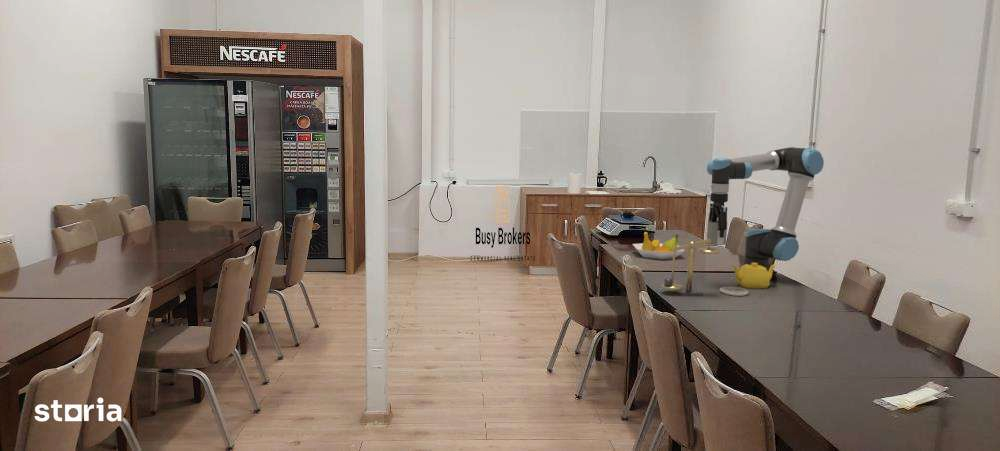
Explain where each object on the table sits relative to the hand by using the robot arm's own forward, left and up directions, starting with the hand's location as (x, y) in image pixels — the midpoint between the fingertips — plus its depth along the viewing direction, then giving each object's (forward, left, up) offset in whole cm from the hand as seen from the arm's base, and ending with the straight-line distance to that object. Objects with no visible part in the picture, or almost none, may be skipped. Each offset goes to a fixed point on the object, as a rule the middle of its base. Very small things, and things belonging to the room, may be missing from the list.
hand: (716, 242), depth 320 cm
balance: (+16, +13, -20) cm, 29 cm away
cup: (0, 0, -1) cm, 1 cm away
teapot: (-20, -3, -21) cm, 29 cm away
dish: (-5, +12, -20) cm, 24 cm away
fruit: (+3, -70, -21) cm, 73 cm away
